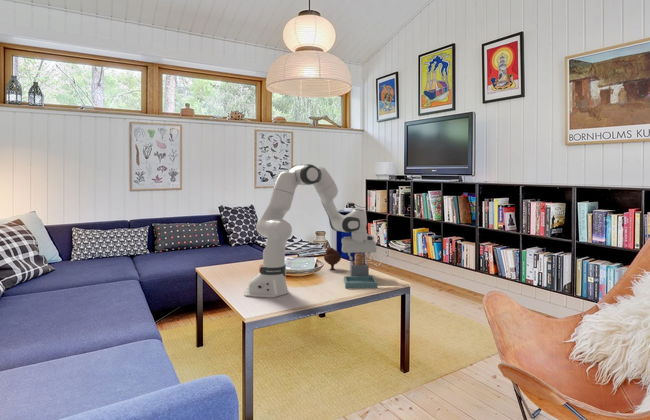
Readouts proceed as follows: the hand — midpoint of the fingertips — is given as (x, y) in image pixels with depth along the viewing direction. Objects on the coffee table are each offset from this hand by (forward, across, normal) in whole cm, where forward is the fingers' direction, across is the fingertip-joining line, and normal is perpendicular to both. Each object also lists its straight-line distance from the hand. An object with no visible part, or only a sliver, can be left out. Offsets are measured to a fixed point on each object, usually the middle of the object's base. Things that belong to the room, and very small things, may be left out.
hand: (359, 259), depth 231 cm
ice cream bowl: (+11, -15, +17) cm, 25 cm away
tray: (+11, -1, -14) cm, 18 cm away
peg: (+10, 0, 0) cm, 10 cm away
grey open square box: (+11, 0, 0) cm, 11 cm away
